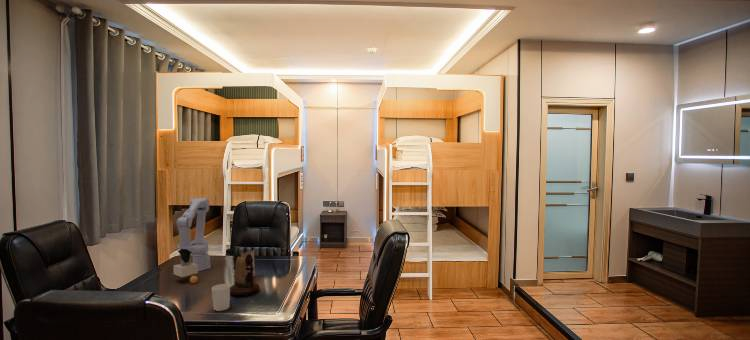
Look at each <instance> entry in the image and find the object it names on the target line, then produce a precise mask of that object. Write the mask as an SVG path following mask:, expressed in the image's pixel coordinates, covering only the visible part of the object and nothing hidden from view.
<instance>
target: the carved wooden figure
mask: <svg viewBox="0 0 750 340" xmlns="http://www.w3.org/2000/svg"><path fill="white" fill-rule="evenodd" d="M240 254H241V257H246V256H247V255H248V254H251V256H252V259H253V261H252V262H253V263H252V264H253V268H254V270H253V277H255V274H256V272H255V271H256V270H255V269H256V268H255V267H256V266H255V250H250V251H246V252H243V253H240ZM246 268H248V267H246ZM249 268H250V266H249ZM249 272H250V271H249V270H246V271H245V276H247V274H248V273H249Z"/></svg>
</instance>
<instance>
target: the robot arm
mask: <svg viewBox="0 0 750 340" xmlns="http://www.w3.org/2000/svg"><path fill="white" fill-rule="evenodd" d="M209 210H210V200H209V198H208V197H201V198H200V197H198V198H197V197H196V198H195V197H193V198H191V199H190V201H189V208H188V209H186V210H185V211H184V213H183V214H182V215H181V216H180V217H179V218H177V219H176V227H177V231H178V240H179V242H178V243H179V244H176V248H177V249H178V250H177V252H178V253H179V256H180V257H181V260H184V263H187V262H189V259H191V258H190V257H192V263H195V264H198V272H201V271H204V270H208V269H211V268H212V266H211V257H210V254H209V242H208V241H207V240H206V239H205V228H206V216H207V213H208V212H209ZM195 216H196V224H195V225H196V226H195V233H194V234H195V236H194V239H193V240H192V237H191V227H192V224H193V219H194V218H195ZM191 240H192V241H191Z"/></svg>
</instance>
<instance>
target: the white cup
mask: <svg viewBox="0 0 750 340" xmlns="http://www.w3.org/2000/svg"><path fill="white" fill-rule="evenodd" d="M230 287H231V285H230V284H229V283H220V284H216V285H213V286H212V287H211V297H212V298H211V299H212V304H213V307H212V308H213V310H214V311H215V310H216V311H217V312H221V311H226V310H228V309H229V308H230V300H231V295H230Z"/></svg>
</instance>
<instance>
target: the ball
mask: <svg viewBox="0 0 750 340" xmlns="http://www.w3.org/2000/svg"><path fill="white" fill-rule="evenodd" d="M198 279H199V278H198V276H196V275H192V276H191V277H190V278H189V282H190V283H191V284H197V282H198Z"/></svg>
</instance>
